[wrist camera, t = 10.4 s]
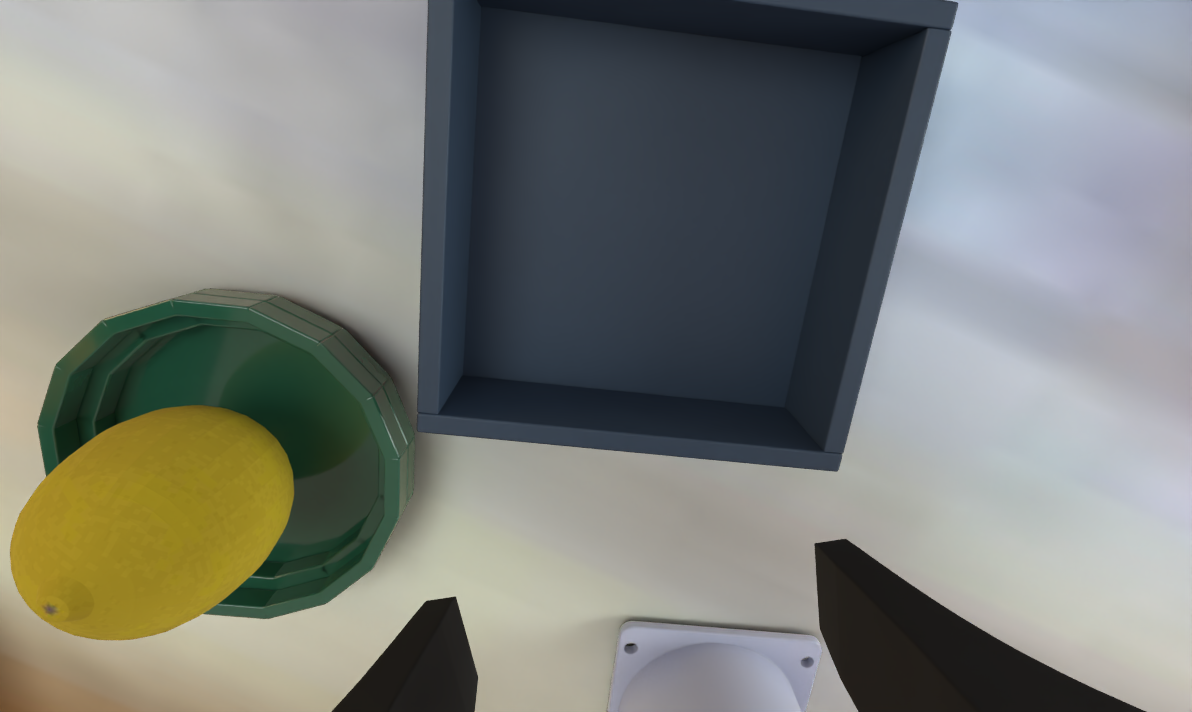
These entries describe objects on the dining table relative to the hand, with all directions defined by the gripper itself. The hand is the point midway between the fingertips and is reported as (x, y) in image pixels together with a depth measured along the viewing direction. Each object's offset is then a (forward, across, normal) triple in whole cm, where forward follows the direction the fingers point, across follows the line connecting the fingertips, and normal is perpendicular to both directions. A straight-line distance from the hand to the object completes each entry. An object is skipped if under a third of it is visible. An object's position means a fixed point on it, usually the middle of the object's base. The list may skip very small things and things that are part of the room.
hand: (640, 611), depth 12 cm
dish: (+9, +12, -1) cm, 16 cm away
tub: (+9, -2, -6) cm, 12 cm away
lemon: (+9, +12, -1) cm, 16 cm away
